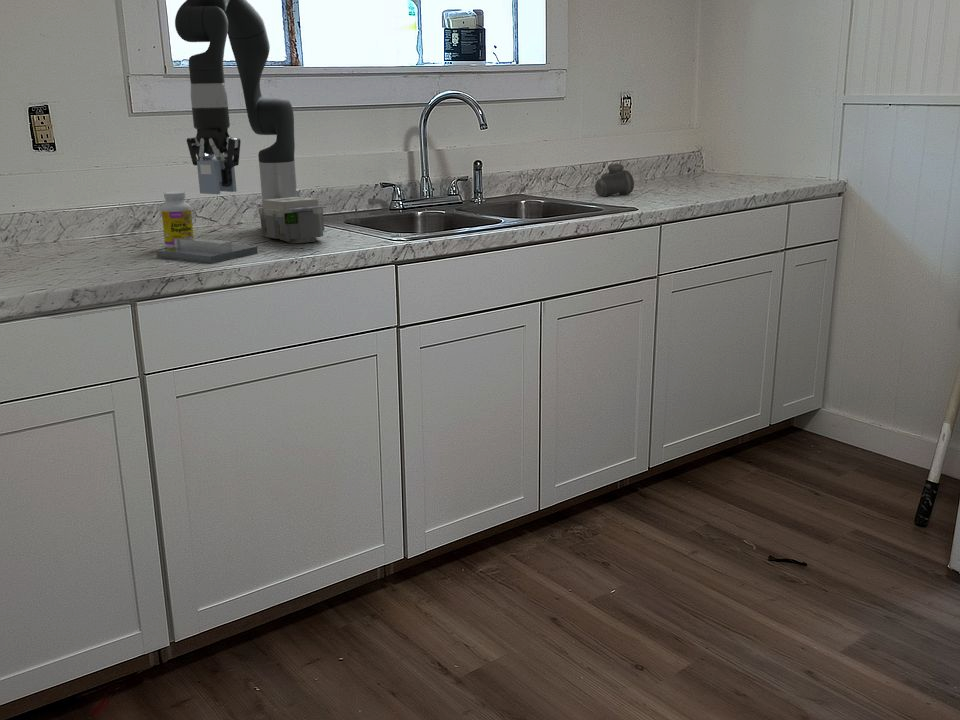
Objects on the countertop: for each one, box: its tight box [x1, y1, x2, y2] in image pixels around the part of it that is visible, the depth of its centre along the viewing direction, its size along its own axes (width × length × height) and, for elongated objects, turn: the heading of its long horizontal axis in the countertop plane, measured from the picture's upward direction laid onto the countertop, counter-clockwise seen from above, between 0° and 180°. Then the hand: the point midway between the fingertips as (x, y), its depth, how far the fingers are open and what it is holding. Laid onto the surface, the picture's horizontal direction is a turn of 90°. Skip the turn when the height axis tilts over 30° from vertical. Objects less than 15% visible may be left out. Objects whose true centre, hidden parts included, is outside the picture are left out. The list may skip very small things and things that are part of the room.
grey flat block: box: [155, 237, 258, 264], centre depth 207 cm, size 14×17×4 cm
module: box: [196, 158, 237, 195], centre depth 201 cm, size 6×5×7 cm
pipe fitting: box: [594, 163, 635, 198], centre depth 301 cm, size 12×8×10 cm
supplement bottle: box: [160, 191, 195, 249], centre depth 217 cm, size 7×7×13 cm
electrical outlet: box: [256, 196, 327, 244], centre depth 227 cm, size 12×28×10 cm, turn 30°
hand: (217, 185), depth 202 cm, fingers closed on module, 5 cm apart
